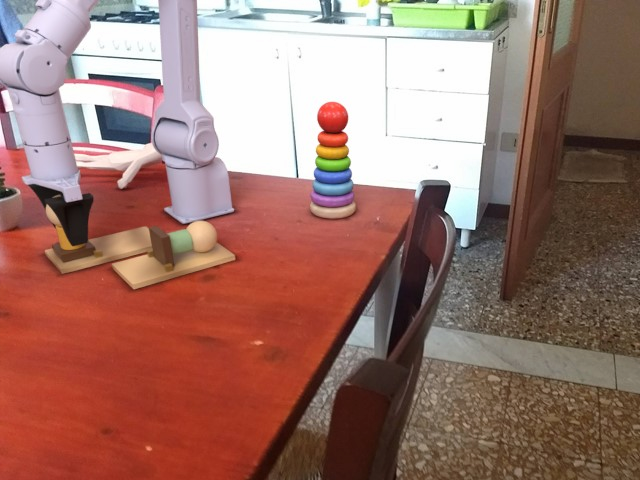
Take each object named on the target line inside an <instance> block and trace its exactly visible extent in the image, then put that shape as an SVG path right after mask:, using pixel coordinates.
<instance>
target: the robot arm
mask: <svg viewBox="0 0 640 480" xmlns="http://www.w3.org/2000/svg"><path fill="white" fill-rule="evenodd" d="M99 2H100V0H37V1H36V3H35V4H34V6H35V7H36V8H37V10H36V11H35V13H34V14H33V15H32V17H31V18H30V19H29V21H27V23H26V24H25V26H24V27H23V28H22V29H18V30H17V31H16V32H15V33H14V37H15V42H9V43H5V44H3V45H2V46H1V47H0V84H1V85H2V86H3V87H4V88H5V89H6V90H7V93H8V95H9V99H10V103H11V106H12V110H13V113H14V117H15V120H16V124H17V128H18V132H19V134H20V138H21V142H22V146H23V150H24V154H25V158H26V160H27V161H26V162H27V164H28V168H29V172H30V174H28V175H27V174H26V175H23V176H21V180H22V183H23V184H24V185H27V186H28V187H29V188H30V189H31V190H32V191H33V192H34V194H35V195H36V197H37V199H38V200H39V201H40V203H41V205H42V206H43V208H44V210H45V212H46V205H48V206H49V207H50V208H51V209H52V210H53V212H54V213H55V215H56V216H57V218H58V220H59V221H60V223H61V225H62V228H63V230H64V233H65V235H66V237H67V239H68V241H69V243H70V244H71V245H72V246H77V245H81V244H85V243H88V239H89V219H90V212H91V209H92V206H93V204H94V199H95V198H94V195H93V194H91V193H90V192H87V193H82V190H81V186H80V183H81V178H82V177H81V176H82V173H81V169H80V168H79V169H78V168H77V164H76V159H75V155H74V154H75V152H74V147H73V143H72V138H71V134H70V131H69V125H68V122H67V117H66V113H65V109H64V104H63V100H62V95H61V91H60V88H61V87H62V86H64V85H65V83H66V78H67V69H66V66H67V64H68V63H69V59H70V58H71V57H72V56H73V55H74V53H75V51H76V50H77V48H78V47H79V46H80V44H82V41H83V40H84V39H85V38H86V36H87V35H88V33H89V32H90V30H91V28H92V23H91V20H90V13H91V12H92V10H93V9H94V8H95V6H97V4H98V3H99ZM157 2H158V19H159V20H158V21H159V36H160V37H159V38H160V54H161V72H162V73H161V75H162V91H163V93H162V94H163V101H162V102H161V103H160V104H159V105H158V107H157V108H156V109H155V110H154V123H153V126H152V129H151V133H150V140H151V143H152V144H153V147H154V148H155V150H156V151H157V152H158V153H160V154H161V155H162V162H164V164H165V169H166V170H165V171H166V176H167V177H166V178H167V182H168V187H169V195H170V203H171V206H167V207H164V208H163V211H164V212H165V213H167V214H168V215H169V216H171V217H172V218H174V219H175V220H176V221H178V222H179V223H181V225H182V224H183V225H185V224H186V225H187V224H191V223H193V222H195V221H204V220H207V219H210V218H211V219H212V218H215V217H218V216H219V217H220V216H224V215H226V214H231V213H235V208H234V207H233V201H232V193H231V186H230V176H229V171H228V168H227V166H226V164H225V162H224V161H223V160H222V159H221V158H220V157H217V155H218V152H219V146H220V143H219V136H218V134H217V132H216V130H215V129H216V128H215V124H214V123H215V122H214V121H215V120H214V119H215V118H214V116H213V115H212V114H211V113H210V112H209V110H208V109H207V108H206V107H205V106H204V105H203V104H202V102H201V81H200V79H201V78H200V53H199V52H200V51H199V25H198V24H199V23H198V0H158V1H157ZM56 195H60V196H61V197H60V196H59V197H54V196H56ZM52 197H54V198H52ZM50 222H51V221H50ZM51 225H52V226H53V227H54V229H55V230H56V227H55V226H56V225H55V224H53V223H52V222H51Z"/></svg>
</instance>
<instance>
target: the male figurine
mask: <svg viewBox="0 0 640 480" xmlns="http://www.w3.org/2000/svg"><path fill="white" fill-rule="evenodd" d="M74 155H75V159H76V164H77V168H78V169H79V170H80V169H90V170H100V171H111V172H115V171H116V172H117V171H119V172H123V173H122V176H121V178H119V179H118V180H117V181H116V183H117V187H118V189H120V190H123V189H127V187H128V185H129V184H130V183H132V182H133V180H134V178H135V177H136V175H138V173H139V171H140V170H141V169H144V168H147V167H151V166H155V165H158V164H160V163H161V162H163V160H162V155H161V154H160V153H158V152H157V151H156V150H155V148H154V147H153V144H152V142H149V143H146V144H145V145H144V146H143V147H142V148H141V149H130V150H120V151H112V152H110V153H109V154H99V155H89V154H85V153H74Z"/></svg>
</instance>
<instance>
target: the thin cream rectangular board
mask: <svg viewBox="0 0 640 480" xmlns="http://www.w3.org/2000/svg"><path fill="white" fill-rule="evenodd" d="M173 258H174V264H175V266H172V264H171V263H169V264H165V265H163V264H162V263H160V262H159V261H158V260H157V259H156V258H155V257H154V255H153V249H151V250H147V252H146V254H143V255H140V256H136V257H131V258H128V259H125V260H121V261H117V262H112V263H111V267H112V268H111V269H112V270H113V272H114V271H115V273H116V274H117V275H118V276H119V277H120V278H121V279H122V280H123V281H124V282H126V284H127V285H128V286H129V287H131V289H133V290H137V289H140V288H144V287H147V286H152V285H154V284H158V283H161V282H164V281H168V280H171V279H175V278H178V277H181V276H185V275H189V274H192V273H196V272H199V271H202V270H206V269H209V268H213V267H216V266H219V265H223V264H226V263H229V262H233V261H236V254H235V253H233V252H231V250H229V249H227V248H226V247H224V246H223V245H221V244H220V243H218V241H217V242H216V244H215V246H214V247H213V248H212V249H211V250H209V251H206V252H196V251H194V250H191V251H188V252H184V253H181V254H177V255H173Z"/></svg>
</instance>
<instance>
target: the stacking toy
mask: <svg viewBox="0 0 640 480" xmlns="http://www.w3.org/2000/svg"><path fill="white" fill-rule="evenodd" d="M316 120H317V124H318V126H319V128H320V129H321V130H322V131H320V132H319V133H318V134H317V141H318V143H319V144H318V145H317V146H316V147H315V153H316V155H317V156H316V157H315V160H314V163H315V166H316V167H315V168H314V169H313V177H314V179H313V181H312V191H311V192H310V200H311V202H310V204H309V210H310V212H311V213H312V214H313V215H315V216H317V217H319V218H323V219H329V220H331V219H333V220H334V219H335V220H337V219H343V218H347V217H349V216H352V215H353V214H354V213H355V212H356V210H357V204H356V202H355V201H354V199H355V192H354V191H353V189H354V186H355V185H354V182H353V179H352V177H353V172H352V170H351V168H350V167H351V165H352V161H351V158H350V157H349V156H348V155H349V154H350V149H349V147H348V145H346V144H348V141H349V135H348V134H347V132H345V131H344V130H345V129H346V127H347V126H348V123H349V113H348V110H347V109H346V107H345V106H344V105H343V104H342V103H340V102H337V101H327V102H325V103H323V104H322V105H321V106H320V107H319V109H318V111H317V116H316Z"/></svg>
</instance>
